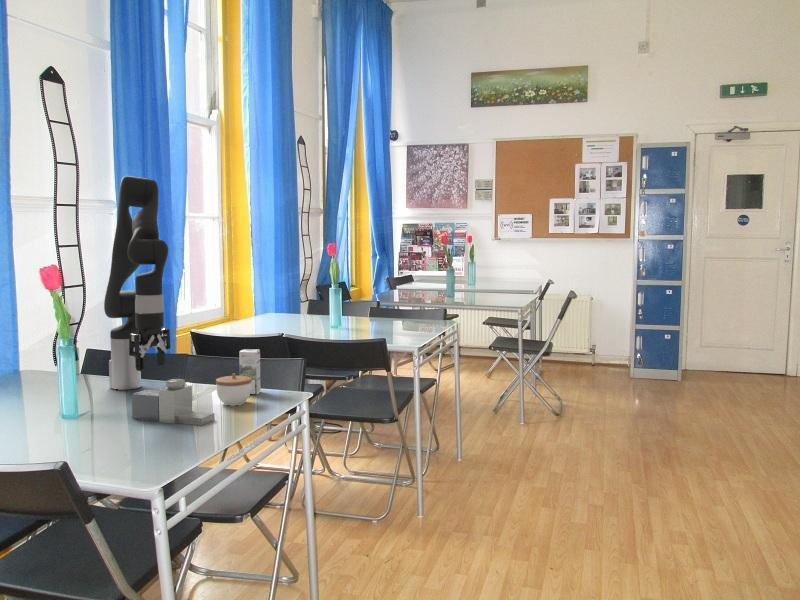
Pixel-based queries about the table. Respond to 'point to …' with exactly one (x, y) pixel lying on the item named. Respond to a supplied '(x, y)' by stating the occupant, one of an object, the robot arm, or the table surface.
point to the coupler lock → (145, 405)
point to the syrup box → (251, 367)
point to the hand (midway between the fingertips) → (150, 367)
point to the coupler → (180, 405)
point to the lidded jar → (233, 389)
